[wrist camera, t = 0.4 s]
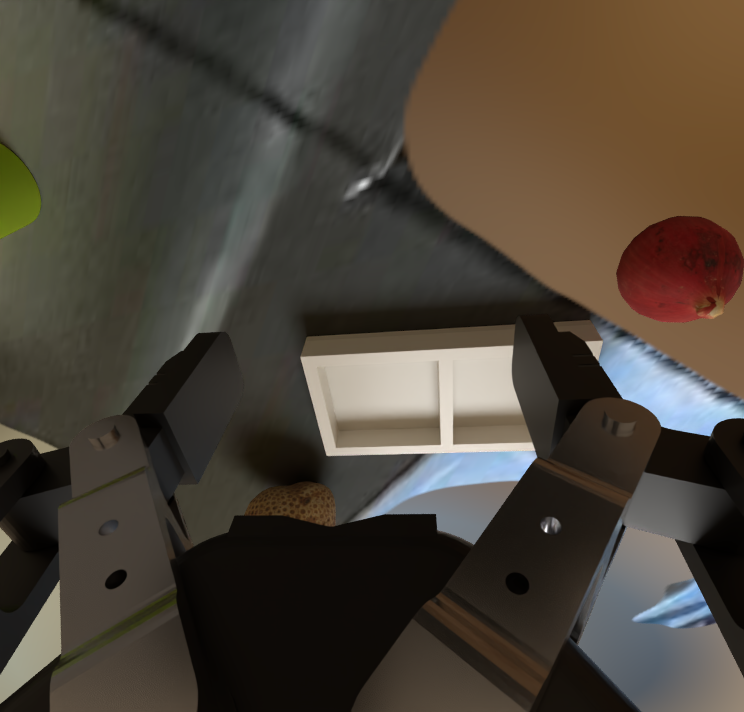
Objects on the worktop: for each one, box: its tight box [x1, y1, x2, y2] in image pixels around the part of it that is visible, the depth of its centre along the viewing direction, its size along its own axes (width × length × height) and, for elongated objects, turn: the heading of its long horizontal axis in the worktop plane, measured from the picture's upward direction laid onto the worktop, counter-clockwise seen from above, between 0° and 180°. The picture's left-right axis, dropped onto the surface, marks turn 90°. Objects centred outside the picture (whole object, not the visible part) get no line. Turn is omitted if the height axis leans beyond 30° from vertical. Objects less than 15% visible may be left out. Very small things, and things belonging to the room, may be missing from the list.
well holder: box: [301, 320, 603, 456], centre depth 35 cm, size 11×21×3 cm, turn 96°
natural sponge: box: [244, 481, 336, 526], centre depth 41 cm, size 9×9×10 cm
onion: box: [616, 216, 744, 322], centre depth 25 cm, size 6×6×8 cm
